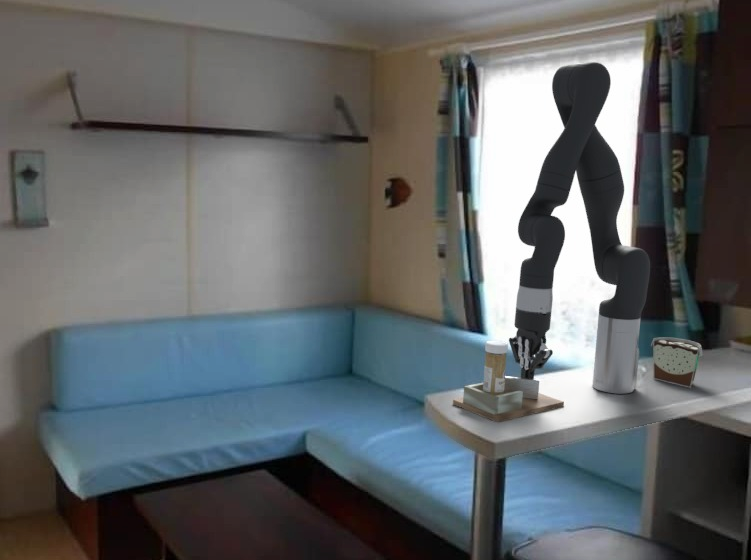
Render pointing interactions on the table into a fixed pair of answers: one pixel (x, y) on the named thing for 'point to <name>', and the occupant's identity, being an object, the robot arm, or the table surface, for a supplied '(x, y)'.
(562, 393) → the table surface
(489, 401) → the cradle board
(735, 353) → the table surface
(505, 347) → the tan spice jar
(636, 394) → the table surface
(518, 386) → the bar
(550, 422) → the table surface
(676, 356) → the food container
